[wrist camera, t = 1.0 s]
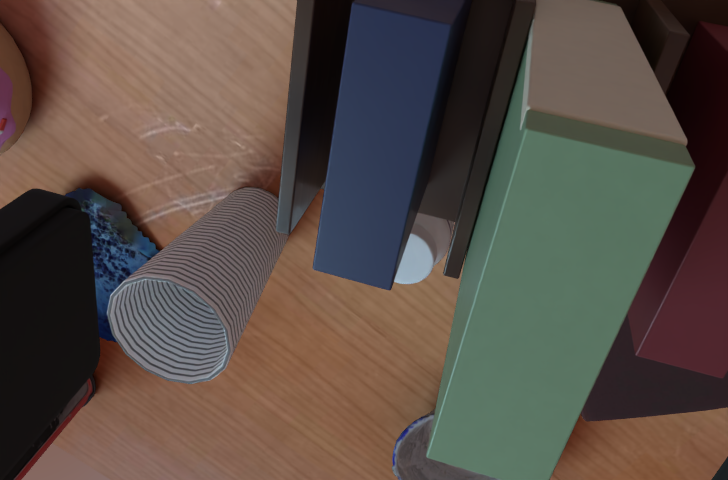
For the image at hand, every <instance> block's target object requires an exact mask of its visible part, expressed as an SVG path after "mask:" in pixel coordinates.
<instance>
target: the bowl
mask: <svg viewBox="0 0 728 480" xmlns="http://www.w3.org/2000/svg"><path fill="white" fill-rule="evenodd" d="M434 414H435V409H434V410H433V411H431V412H430V413H428V414H427V415H425V416H423V417H421V418H419V419H418V420H416V421H414V422H413V423H412V424H411V425H409V426H408V427H407V428H406V429H405V430H404V431H403V432H402V433H401V435H400V437H399V438H398V439H397V440H396V444H395V448H394V451H393V466H392V470H393V472H394V474H395V476H397V477H398V479H399V480H500V479H497V478H493V477H490V476H487V475H483V474H480V473H477V472H473V471H470V470H466V469H463V468H460V467H456V466H453V465H450V464H446V463H443V462H440V461H436V460H433V459H429V458H427V456H426V454H427V449H428V444H429V439H430V434H431V429H432V424H433V419H434Z"/></svg>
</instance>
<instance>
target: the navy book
mask: <svg viewBox="0 0 728 480" xmlns="http://www.w3.org/2000/svg"><path fill="white" fill-rule="evenodd" d="M471 3H472V0H355V1H354V2H353V3H352V7H351V14H350V21H349V27H348V34H347V41H346V48H345V54H344V61H343V68H342V74H341V81H340V88H339V95H338V101H337V108H336V115H335V121H334V128H333V135H332V142H331V148H330V155H329V162H328V168H327V175H326V182H325V189H324V195H323V202H322V209H321V215H320V222H319V229H318V236H317V242H316V249H315V256H314V262H313V269H314V270H317V271H320V272H324V273H328V274H331V275H335V276H339V277H342V278H346V279H350V280H353V281H357V282H360V283H364V284H368V285H371V286H375V287H379V288H382V289H386V290H391V288H392V285H393V283H394V280H395V277H396V274H397V271H398V268H399V265H400V262H401V259H402V257H403V254H404V251H405V248H406V245H407V242H408V239H409V236H410V233H411V231H412V228H413V225H414V222H415V219H416V216H417V213H418V210H419V207H420V205H421V202H422V199H423V196H424V193H425V190H426V187H427V184H428V180H429V176H430V172H431V168H432V163H433V159H434V155H435V151H436V147H437V143H438V139H439V135H440V131H441V126H442V122H443V118H444V114H445V110H446V106H447V102H448V98H449V94H450V89H451V85H452V81H453V77H454V73H455V69H456V65H457V61H458V57H459V52H460V48H461V44H462V40H463V36H464V32H465V28H466V24H467V20H468V15H469V11H470V7H471Z"/></svg>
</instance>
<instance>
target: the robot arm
mask: <svg viewBox="0 0 728 480" xmlns="http://www.w3.org/2000/svg"><path fill="white" fill-rule="evenodd" d="M99 358H100V339H99V326H98V313H97V300H96V287H95V274H94V261H93V248H92V235H91V223H90V218H89V216H88V214H87V213H86V212H84V211H82V209H81V205H80V204H79V202H78V201H77V200H76V199H74V198H71V197H68V196H64V195H60V194H56V193H53V192H49V191H45V190H42V189H31V190H29V191H27V192H25V193H24V194H22V195H21V196H19V197H18V198H16V199H15V200H13V201H12V202H10V203H9V204H7V205H6V206H4V207H3V208H1V209H0V480H3V479H4V478H5V477H6V475H7V474H8V473H9V472H10V471H11V470H12V468H13V467H14V466H15V465H16V464H17V463H18V461H19V460H20V459H21V458H22V457H23V456H24V454H25V453H26V452H27V451H28V450H29V448H30V447H31V446H32V445H33V444H34V443H35V441H36V440H37V439H38V438H39V437H40V436H41V434H42V433H43V432H44V431H45V430H46V429H47V427H48V426H49V425H50V424H51V423H52V421H53V420H54V419H55V418H56V417H57V416H58V414H59V413H60V412H61V411H62V410H63V409H64V407H65V406H66V405H67V404H68V403H69V402H70V400H71V399H72V398H73V397H74V396H75V394H76V393H77V392H78V391H79V390H80V389H81V387H82V386H83V385H84V384H85V383H86V382H87V380H88V379H89V378H90V377H91V375H92V374H93V373H94V371H95V369H96V367H97V365H98V362H99ZM712 480H728V457H727V459H726V460H725V461H724V463H723V464H722V466H721V467H720V468H719V470H718V471H717V473H716V474H715V475H714V477H713V478H712Z"/></svg>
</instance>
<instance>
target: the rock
mask: <svg viewBox="0 0 728 480" xmlns="http://www.w3.org/2000/svg"><path fill="white" fill-rule="evenodd" d="M65 196H68V197H71V198H74V199H76V200H77V201H78V202H79V204H80V205H81V209H82V211H84V212H86V213H87V214H88V216H89V218H90V223H91V235H92V248H93V261H94V274H95V287H96V300H97V313H98V326H99V337H101V338H103V339H106V340H107V341H114V342H117V341H116V339H115V338H114V336H113V334H112V331H111V327H110V323H109V320H108V316H107V311H108V306H109V301H110V295H111V294H112V293H113V292H114V291H115V290H116V289H117V288H118V287H119V286H120V285H121V283H122V282H123V281H125V280H126V279H127V278H128V277H129V276H131V275H132V274H133V273H134V272H136V271H137V270H138V269H139V268H140V267H142V266H143V265H144V264H145V263H147V262H148V261H149V260H150V259H151V258H153V257H154V256H155V255H156V254H158V253H159V252H160V251H158V250H156V249H155V246H156V245H155V244H154V243H151V242H150V241H149V238H147V237H143V236H142V232H141V231H137V227H136V226H134V225H132V222H131V220H130V219H128V218H126V216H127V214H126V212H123V211H121V205H120V204H117V203H114V202H112V201H110V200H108V199H106V198H104V197H102V196H101V195H99V194H97V193H96V192H94V191H93V190H92V189H89V188H88V189H80V188H78V189H77V190H76V191H72V192H70V193H69V194H68V193H67V194H66V195H65Z"/></svg>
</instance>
